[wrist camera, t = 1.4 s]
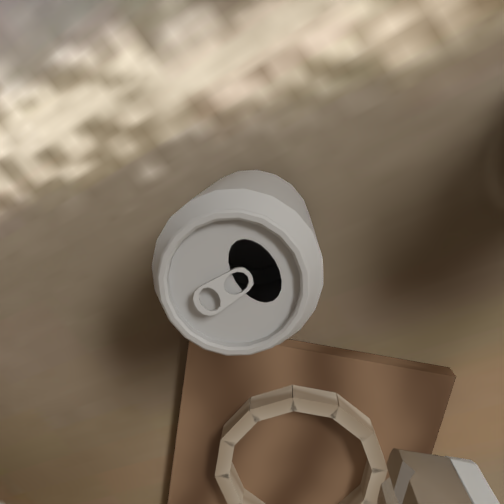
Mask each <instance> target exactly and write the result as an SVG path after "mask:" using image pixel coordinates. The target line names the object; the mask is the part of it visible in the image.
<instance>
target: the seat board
mask: <svg viewBox="0 0 504 504" xmlns="http://www.w3.org/2000/svg"><path fill="white" fill-rule="evenodd" d="M455 379H456V376H455V375H454V373H453V372H452V370H451V369H450V368H449V367H443V366H437V365H432V364H426V363H420V362H415V361H409V360H403V359H398V358H392V357H386V356H381V355H375V354H369V353H364V352H358V351H352V350H347V349H341V348H335V347H330V346H324V345H318V344H313V343H307V342H301V341H296V340H290V339H286V340H285V341H284V342H282V343H281V344H279V345H276V346H274V347H273V348H270V349H267V350H264V351H261V352H258V353H255V354H252V355H233V356H227V355H223V354H219V353H215V352H212V351H208V350H204V349H203V348H201V347H199V346H198V345H196V344H194V343H193V342H191V341H189V346H188V353H187V361H186V368H185V376H184V384H183V391H182V399H181V406H180V414H179V422H178V429H177V437H176V444H175V452H174V459H173V467H172V475H171V482H170V490H169V497H168V504H377V499H378V494H379V490H380V486H381V483H383V482H384V481H385V480H387V479H388V478H389V477H390V476H389V472H388V469H387V461H388V458H389V454H390V453H391V451H392V449H393V448H397V449H403V450H409V451H415V452H420V453H426V454H432V451H433V448H434V445H435V441H436V438H437V435H438V432H439V429H440V426H441V423H442V419H443V416H444V413H445V410H446V407H447V404H448V401H449V397H450V394H451V391H452V388H453V385H454V382H455Z"/></svg>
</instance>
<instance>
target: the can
mask: <svg viewBox="0 0 504 504" xmlns="http://www.w3.org/2000/svg"><path fill="white" fill-rule="evenodd" d="M152 272H153V280H154V288H155V292H156V294H157V296H158V298H159V301H160V303H161V305H162V307H163V309H164V311H165V313H166V315H167V317H168V319H169V321H170V322H171V323H172V324H173V325H174V326H175V328H176V329H177V330H178V331H179V332H180V333H181V334H182V335H183V336H184V337H185V338H186V339H188V340H189V341H191V342H193V343H194V344H196V345H198V346H199V347H201V348H203V349H204V350H208V351H212V352H215V353H219V354H223V355H227V356H233V355H252V354H255V353H258V352H261V351H264V350H267V349H270V348H273V347H274V346H276V345H279V344H281V343H282V342H284V341H285V340H286V339H288V338H289V337H291V336H292V335H293V334H295V333H296V332H298V331H299V330H300V329H301V328H302V327H303V325H304V324H305V323H306V321H307V320H308V319H309V317H310V316H311V314H312V313H313V312H314V310H315V309H316V306H317V303H318V300H319V297H320V294H321V290H322V287H323V257H322V254H321V251H320V248H319V244H318V241H317V238H316V235H315V231H314V228H313V225H312V222H311V218H310V215H309V213H308V210H307V207H306V205H305V202H304V200H303V198H302V197H301V196H300V195H299V193H298V192H297V191H296V190H295V188H294V187H293V186H292V185H291V184H289V183H288V182H286V181H285V180H283V179H282V178H280V177H279V176H277V175H275V174H271V173H267V172H264V171H260V170H247V171H237V172H235V173H232V174H230V175H227V176H225V177H222V178H221V179H219V180H218V181H216V182H215V183H214V184H212V185H211V186H209V187H208V188H207V189H205V190H204V191H203V192H201V193H200V194H198V195H197V196H196V197H194V198H193V199H191V200H190V201H189V202H188V203H187V204H185V205H184V206H183V207H182V208H181V209H180V210H178V211H177V212H176V213H175V214H174V215H172V216H171V217H170V218H169V220H168V222H167V224H166V225H165V227H164V229H163V230H162V232H161V234H160V235H159V237H158V239H157V241H156V246H155V251H154V256H153V261H152Z"/></svg>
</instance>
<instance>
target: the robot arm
mask: <svg viewBox="0 0 504 504" xmlns="http://www.w3.org/2000/svg"><path fill="white" fill-rule="evenodd" d="M387 469H388V472H389V476H390V477H389V478H388V479H387V480H385V481H384V482H383V483H381V486H380V490H379V494H378V499H377V504H500V503H499V502H498V500H497V498H496V496H495V495H494V493H493V491H492V490H491V488H490V486H489V485H488V483H487V481H486V479H485V478H484V476H483V474H482V473H481V471H480V469H479V467H478V466H477V464H476V463H474V462H473V461H472V460H469V459H462V458H456V457H449V456H438V455H432V454H426V453H420V452H415V451H409V450H403V449H397V448H393V449H392V451H391V453H390V454H389V458H388V461H387Z"/></svg>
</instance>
